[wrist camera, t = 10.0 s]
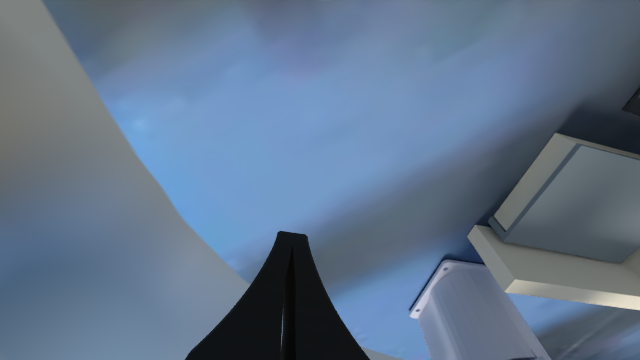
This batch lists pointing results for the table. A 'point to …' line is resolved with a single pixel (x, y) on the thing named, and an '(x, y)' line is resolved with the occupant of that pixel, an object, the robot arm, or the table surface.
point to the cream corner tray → (558, 272)
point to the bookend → (634, 104)
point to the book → (576, 202)
